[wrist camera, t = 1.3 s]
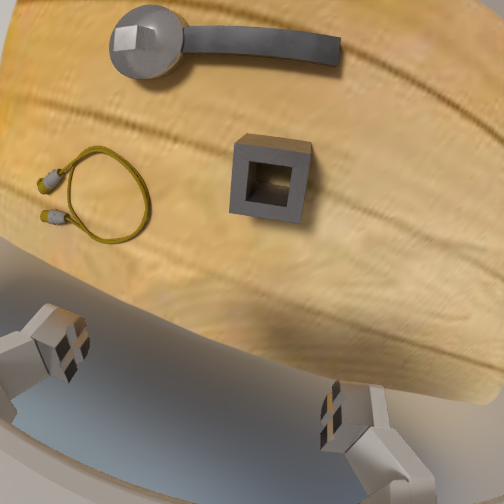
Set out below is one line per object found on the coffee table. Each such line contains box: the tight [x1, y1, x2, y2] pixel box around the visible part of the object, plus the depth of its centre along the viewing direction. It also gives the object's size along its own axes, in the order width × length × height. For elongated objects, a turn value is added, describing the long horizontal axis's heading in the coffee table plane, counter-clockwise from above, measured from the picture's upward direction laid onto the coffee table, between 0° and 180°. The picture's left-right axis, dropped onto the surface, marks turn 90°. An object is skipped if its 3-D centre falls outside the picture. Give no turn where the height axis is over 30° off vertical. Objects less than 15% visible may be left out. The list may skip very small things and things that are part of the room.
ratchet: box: [109, 5, 341, 79], centre depth 21 cm, size 20×7×6 cm, turn 84°
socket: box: [229, 133, 311, 224], centre depth 26 cm, size 6×6×5 cm
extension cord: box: [37, 146, 149, 244], centre depth 32 cm, size 12×16×2 cm
